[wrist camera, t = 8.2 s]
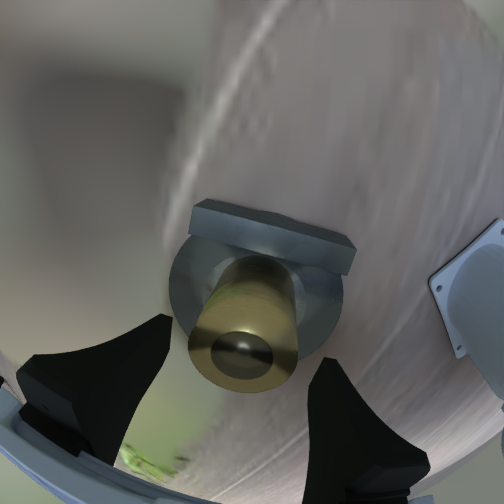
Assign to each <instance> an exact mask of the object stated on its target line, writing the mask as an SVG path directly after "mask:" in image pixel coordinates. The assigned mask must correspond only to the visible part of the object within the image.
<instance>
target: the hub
mask: <svg viewBox="0 0 504 504" xmlns="http://www.w3.org/2000/svg"><path fill="white" fill-rule="evenodd" d="M188 351H189V355H190V358H191V360H192V362H193V364H194V366H195V367H196V369H197V370H198V371H199V372H200V373H201V374H202V375H203V376H204V377H205V378H206V379H208V380H209V381H210V382H212V383H214V384H216V385H218V386H220V387H222V388H225V389H227V390H231V391H235V392H242V393H256V392H263V391H267V390H270V389H273V388H275V387H277V386H279V385H281V384H282V383H283V382H285V381H286V380H287V379H288V378H289V377H290V376H291V375H292V373H293V372H294V370H295V368H296V365H297V362H298V341H297V320H296V302H295V287H294V282H293V280H292V277H291V275H290V274H289V272H288V271H287V270H286V269H285V268H284V267H283V266H282V265H281V264H280V263H278V262H277V261H275V260H273V259H271V258H268V257H264V256H257V255H252V256H245V257H242V258H239V259H237V260H235V261H233V262H232V263H230V264H229V265H228V266H227V267H226V268H225V270H224V271H223V273H222V274H221V276H220V278H219V280H218V282H217V284H216V286H215V287H214V289H213V291H212V293H211V295H210V297H209V299H208V301H207V303H206V304H205V306H204V308H203V310H202V312H201V314H200V316H199V318H198V320H197V322H196V324H195V325H194V327H193V329H192V331H191V334H190V336H189V340H188Z"/></svg>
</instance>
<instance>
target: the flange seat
mask: <svg viewBox="0 0 504 504" xmlns="http://www.w3.org/2000/svg"><path fill="white" fill-rule="evenodd" d="M188 234H192V236H191V237H190V238H189V239H188V240H187V241H186V242H185V243H184V244H183V246H182V247H181V248H180V250H179V252H178V254H177V255H176V257H175V259H174V262H173V265H172V268H171V272H170V277H169V296H170V301H171V306H172V309H173V312H174V314H175V317H176V319H177V321H178V323H179V324H180V326H181V328H182V329H183V330H184V332H185V333H186V334H187V336H188V337H189V336H190V334H191V331H192V329H193V327H194V325H195V324H196V322H197V320H198V318H199V316H200V314H201V312H202V310H203V308H204V306H205V304H206V303H207V301H208V299H209V297H210V295H211V293H212V291H213V289H214V287H215V286H216V284H217V282H218V280H219V278H220V276H221V274H222V273H223V271H224V270H225V268H226V267H227V266H228V265H229V264H230V263H232V262H233V261H235V260H237V259H239V258H242V257H245V256H252V255H257V256H264V257H268V258H271V259H273V260H275V261H277V262H278V263H280V264H281V265H282V266H283V267H284V268H285V269H286V270H287V271H288V272H289V274H290V275H291V277H292V280H293V282H294V287H295V302H296V320H297V341H298V360H300V359H302V358H304V357H306V356H307V355H309V354H311V353H312V352H313V351H315V350H316V349H317V348H318V347H320V346H321V345H322V344H323V343H324V342H325V340H326V339H327V338H328V337H329V335H330V334H331V333H332V331H333V329H334V328H335V326H336V324H337V322H338V319H339V316H340V314H341V309H342V304H343V284H342V279H341V275H340V274H342V275H346V276H347V275H348V272H349V269H350V267H351V264H352V261H353V259H354V256H355V253H356V251H357V249H356V248H355V247H354V245H353V244H352V243H351V241H350V240H349V239H348V237H347V236H346V235H342V234H339V233H336V232H332V231H329V230H325V229H322V228H318V227H315V226H311V225H308V224H304V223H301V222H298V221H296V220H294V219H292V218H290V217H287V216H284V215H281V214H278V213H273V212H268V211H257V210H252V209H248V208H244V207H240V206H236V205H232V204H228V203H224V202H220V201H216V200H212V199H208V198H207V199H205V200H203V201H201V202H199V203H197V204H196V205H194V206H193V209H192V215H191V220H190V226H189V232H188Z"/></svg>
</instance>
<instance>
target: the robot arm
mask: <svg viewBox="0 0 504 504" xmlns="http://www.w3.org/2000/svg"><path fill="white" fill-rule="evenodd" d="M501 230H502V232H501ZM439 285H440V286H439ZM429 286H430V288H431V290H432V293H433V295H434V298H435V300H436V303H437V305H438V308H439V310H440V313H441V315H442V318H443V321H444V324H445V326H446V329H447V332H448V335H449V338H450V341H451V344H452V347H453V350H454V353H455V356H456V357H457V358H458V359H459V358H461V357H463V356H464V355H465V354H468V355H469V357H470V358H471V359H472V361H473V362H474V364H475V365H476V367H477V368H478V369H479V371H480V372H481V374H482V375H483V377H484V378H485V380H486V381H487V383H488V384H489V386H490V387H491V389H492V390H493V392H494V393H495V394H496V396H498V397H499V398H500V399H502V400H504V220H503V219H500V218H498V219H497V220H496V221H495V222H494V223H493V224H492V225H491V226H490V227H489V228H488V229H487V230H486V231H485V232H483V233H482V234H481V235H480V236H479V237H478V238H477V239H476V240H475V241H474V242H473V243H471V244H470V245H469V246H468V247H467V248H466V249H465V250H464V251H462V252H461V253H460V254H459V255H458V256H457V257H455V258H454V259H453V260H452V261H451V262H449V263H448V264H447V265H446V266H444V267H443V268H442V269H441V270H440V271H438V272H437V273H436V274H434V275H433V276H432V277H431V278H430V280H429ZM438 286H439V288H438V289H437V290H436V288H437V287H438ZM172 320H173V317H170V316H167V315H164V314H159V315H157V316H155V317H153V318H152V319H150V320H149V321H147V322H145V323H143V324H142V325H140V326H138V327H136V328H134V329H133V330H131V331H129V332H127V333H125V334H123V335H121V336H119V337H117V338H114V339H112V340H110V341H107V342H105V343H102V344H99V345H96V346H93V347H89V348H85V349H81V350H77V351H72V352H66V353H58V354H39V355H37V354H34V355H33V356H32V357H31V358H30V359H29V360H28V361H27V362H26V363H25V364H24V365H23V366H22V367H21V368H20V369H19V370H18V371H17V372H16V378H17V381H18V384H19V386H20V388H21V390H22V392H23V394H24V396H25V398H26V400H27V402H26V403H25V405H24V406H23V404H22V403H21V402H20V401H19V400H18V399H17V398H16V397H14V396H13V395H12V394H11V393H10V392H9V391H7V390H6V389H5V388H4V387H2V388H1V389H0V451H1V452H2V454H4V455H5V456H6V457H7V458H8V459H9V460H10V461H11V462H13V463H14V464H15V465H16V466H17V467H18V468H19V469H21V470H22V471H23V472H24V473H26V474H27V475H28V476H29V477H31V478H32V479H33V480H34V481H35V482H37V483H38V484H39V485H41V486H42V487H43V488H45V489H46V490H48V491H49V492H50V493H52V494H53V495H55V496H56V497H58V498H59V499H61V500H62V501H64V502H65V503H67V504H221V503H217V502H212V501H208V500H204V499H200V498H196V497H193V496H189V495H185V494H182V493H179V492H176V491H173V490H169V489H166V488H164V487H161V486H158V485H155V484H152V483H150V482H147V481H145V480H142V479H140V478H137V477H135V476H132V475H130V474H128V473H126V472H123V471H121V470H119V469H117V468H115V467H113V466H114V463H115V460H116V457H117V454H118V451H119V449H120V446H121V443H122V441H123V438H124V436H125V433H126V431H127V429H128V426H129V424H130V421H131V419H132V417H133V415H134V413H135V411H136V408H137V406H138V404H139V402H140V401H141V399H142V397H143V396H144V394H145V393H146V391H147V389H148V388H149V386H150V385H151V383H152V381H153V380H154V378H155V377H156V375H157V373H158V372H159V370H160V369H161V367H162V365H163V363H164V361H165V359H166V357H167V354H168V352H169V350H170V340H171V329H172ZM307 405H308V423H309V440H310V450H309V462H308V470H307V478H306V485H305V490H304V496H303V501H302V504H434V500H433V495H427V496H423V497H419V498H415V499H412V500H409V501H407V496H408V495H410V487H411V486H413V485H414V484H416V483H417V482H418V481H420V480H421V479H422V478H424V477H425V476H426V475H427V474H428V472H429V471H430V468H431V467H430V463H429V460H428V457H427V454H426V452H424V451H422V450H421V449H419V448H417V447H415V446H414V445H412V444H410V443H409V442H407V441H406V440H405V439H403V438H402V437H400V436H399V435H398V434H396V433H395V432H394V431H393V430H392V429H390V428H389V427H388V426H387V425H386V424H385V423H384V422H383V421H382V420H381V419H380V418H379V417H378V416H377V415H376V414H375V413H374V412H373V411H372V410H371V408H370V407H369V406H368V405H367V404H366V402H365V401H364V400H363V398H362V397H361V396H360V394H359V393H358V392H357V390H356V389H355V387H354V386H353V384H352V383H351V381H350V380H349V378H348V377H347V375H346V374H345V372H344V371H343V369H342V367H341V366H340V364H339V363H338V361H337V360H336V359H332V358H327V357H324V358H323V360H322V362H321V364H320V366H319V368H318V370H317V372H316V374H315V375H314V377H313V379H312V381H311V383H310V385H309V389H308V403H307ZM501 409H502V410H503V412H504V404H503V406H502V407H501ZM501 447H502V453H503V456H504V428H503V431H502V437H501Z"/></svg>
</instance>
